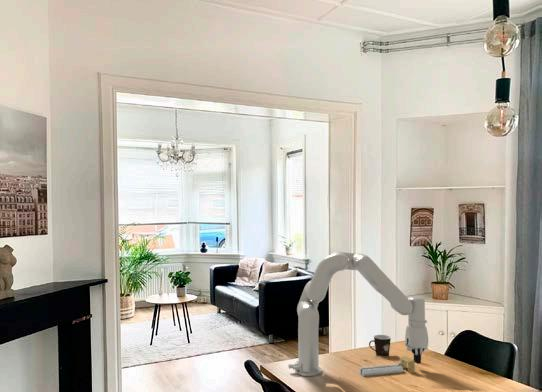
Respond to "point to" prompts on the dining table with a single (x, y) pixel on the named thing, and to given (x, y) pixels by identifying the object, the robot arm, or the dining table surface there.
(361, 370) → the grey rod
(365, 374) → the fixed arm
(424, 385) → the dining table surface
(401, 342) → the dining table surface
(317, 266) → the robot arm
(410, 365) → the beige textured block
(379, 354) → the coffee mug
